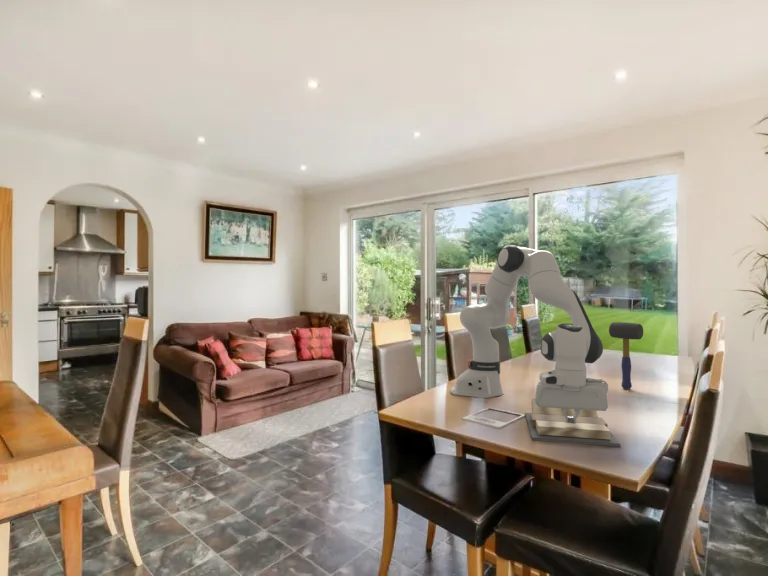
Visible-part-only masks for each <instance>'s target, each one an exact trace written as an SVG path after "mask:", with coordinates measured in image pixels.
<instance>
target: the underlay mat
mask: <svg viewBox="0 0 768 576" xmlns="http://www.w3.org/2000/svg"><path fill="white" fill-rule="evenodd" d="M530 413H531V414H533V413H532V412H525V413H524V415H525V419H526V422H527V427H528V430H529V434H530V437H531V441H542V442H555V443H566V444H567V443H568V444H569V443H570V444H581V445H595V446H607V447H621V443H620V442H619V440H618V439H617V438H616V437H615V436H614V434H613V433H612V432H611V431H610V434H611V440H609V439H595V438H581V437H567V436H553V435H539V434H538V432H537V430H536V428H533V427H532V424H531V416H530Z"/></svg>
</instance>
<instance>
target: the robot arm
mask: <svg viewBox="0 0 768 576" xmlns="http://www.w3.org/2000/svg"><path fill="white" fill-rule="evenodd" d="M521 277H527V279H528V285H529V288H530V292H531V294H532V296H533V297H534V298H535V299H536V300H537V301H539V302H541V303H543V304H546V305H550V306H551V307H554V308H555V307H556V308H558V309H560V310H563V311H564V312H566V313H567V314H568V315H569V317H570V320H571V323H568V322H566V323H560V324H557V326H556V327H555V330H553V331H551V332H547V333H545V334H544V335H543V336H542V337H541V339H540V354H541V355H542V356H543V357H544V359H546V360H547V361H548V362H549V361H550V362H555V365H554V369H553V370H549V371H544V372H541V373H540V374H539V382H538V383H537V384H536V389H535V395H534V397H535V398H534V399H535V402H536V404H537V405H538V406H539V407H550V408H561V411H562V412H563V414H564V416H565V423H573V424H576V418H577V417H578V415H579V414H580V409H581V410H596V412H597V411H600V412H605V411H607V409H608V407H609V405H608V404H609V403H608V396H607V393H608V392H609V384H608V382H607V381H606V380H603V379H602V378H592V377H591V378H589V377H587V365H586V364H593V363H595V362H597V361H599V359H600V358H601V357H602V355H603V353H604V345H603V342H602V340H601V339H600V336H599V335H598V333H597V332H596V330H595V329H594V327H593V325H592V323H591V321H590V318H589V316H588V314H587V312H586V310H585V308H584V306H583V304H582V302H581V299H580V298H579V296H578V294H577V292H576V291H575V290H573V289H571V288H570V287H569V286H568V285H567V284H566V282H564V280H563V277H562V273H561V270H560V266H559V264H558V262H557V260H556V258H555V256H554V255H553V253H552V252H550V251H547V250H538V249H534V248H530V247H524V246H517V245H505V246H504V247H502V248H501V250H499V253H498V255H497V263H496V265H495V266H494V268H493V270H492V272H491V274H490V276H489V278H488V280H487V283H486V285H485V287H484V292H485V295H486V296H487V299H486V301H485V302H484V303H482V304H481V303H477V304H470V305H467V306H465V307H464V308H462V309H461V311H460V314H459V319H460V324H461V326H463V327H464V328H465V329H466V330H467V332H468V335H469V336H470V339H471V342H472V343H471V344H472V359H468V360H467V364H468V368H467V369H466V370H464V372H462V373H460V375H458V376H457V378H456V381H455V385H454V386H452V387H451V388H450V393H451V394H452V395H454V396H463V397H464V396H465V397H473V398H483V399H489V398H492V397H493V398H494V397H498V396H502V395H504V390H503V387H502V382H501V377H500V376H501V375H500V374H501V361H500V346H499V345H500V344H499V342H498V341H497V340H496V339H495V338H494V337H493V335H492V332H491V329H499V328H502V327H504V326H506V325H508V324H509V322H510V320H511V310H510V309H509V302H510V298H511V297H512V295H513V292H514V290H515V288H516V286H517V285H518V282H519V280H520V278H521ZM567 409H574V411H575V413H574V415H573V416H567V415H566V413H565V412H567Z"/></svg>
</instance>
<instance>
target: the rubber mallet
mask: <svg viewBox="0 0 768 576" xmlns="http://www.w3.org/2000/svg"><path fill="white" fill-rule="evenodd" d="M608 333H609V336H610V337H611V338H616V339H621V340H622V358H621V374H622V377H621V378H622V381H621V387H622V389H624V390H626V389H627V390H631V389H632V387H633V384H632V382H631V380H632V378H631V373H632V361H631V356H630V340H641V339H642V338H643V336H644V326H643V325H642V324H641V323H635V322H627V321H626V322H623V321H622V322H620V321H619V322H611V323H610V324H609V327H608Z"/></svg>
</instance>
